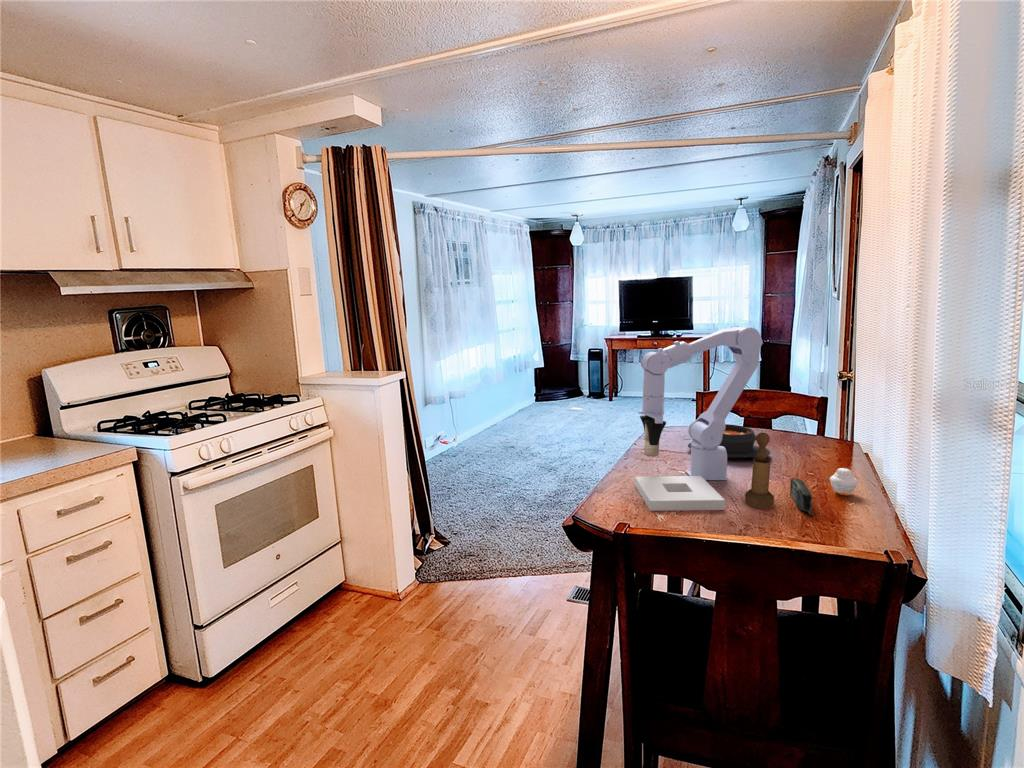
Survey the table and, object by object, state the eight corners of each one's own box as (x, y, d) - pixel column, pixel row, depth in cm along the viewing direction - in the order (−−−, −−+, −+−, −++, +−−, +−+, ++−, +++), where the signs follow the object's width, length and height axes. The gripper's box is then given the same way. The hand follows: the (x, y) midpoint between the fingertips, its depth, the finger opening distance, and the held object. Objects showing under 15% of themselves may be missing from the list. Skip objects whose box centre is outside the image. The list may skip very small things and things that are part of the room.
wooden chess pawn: (771, 510, 134) (775, 437, 131) (742, 505, 137) (746, 434, 135) (775, 501, 140) (779, 431, 137) (747, 496, 143) (751, 428, 140)
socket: (700, 484, 152) (700, 475, 152) (724, 509, 135) (724, 500, 134) (634, 485, 153) (635, 476, 152) (649, 510, 135) (650, 500, 135)
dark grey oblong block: (788, 476, 144) (803, 495, 130) (801, 477, 143) (817, 496, 129) (787, 495, 145) (802, 515, 130) (800, 495, 144) (816, 516, 130)
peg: (656, 452, 159) (657, 421, 158) (660, 456, 155) (661, 425, 154) (642, 452, 159) (643, 421, 158) (645, 456, 155) (646, 425, 154)
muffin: (842, 499, 140) (844, 472, 139) (823, 491, 146) (825, 465, 145) (862, 496, 142) (864, 470, 141) (842, 488, 148) (844, 463, 147)
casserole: (772, 451, 183) (773, 426, 182) (767, 467, 167) (768, 440, 165) (693, 443, 195) (694, 419, 194) (682, 456, 179) (682, 431, 178)
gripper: (633, 391, 162) (632, 436, 164) (644, 400, 148) (643, 449, 150) (658, 390, 162) (656, 436, 164) (671, 400, 147) (669, 449, 150)
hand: (651, 442), depth 157 cm, fingers closed on peg, 4 cm apart
